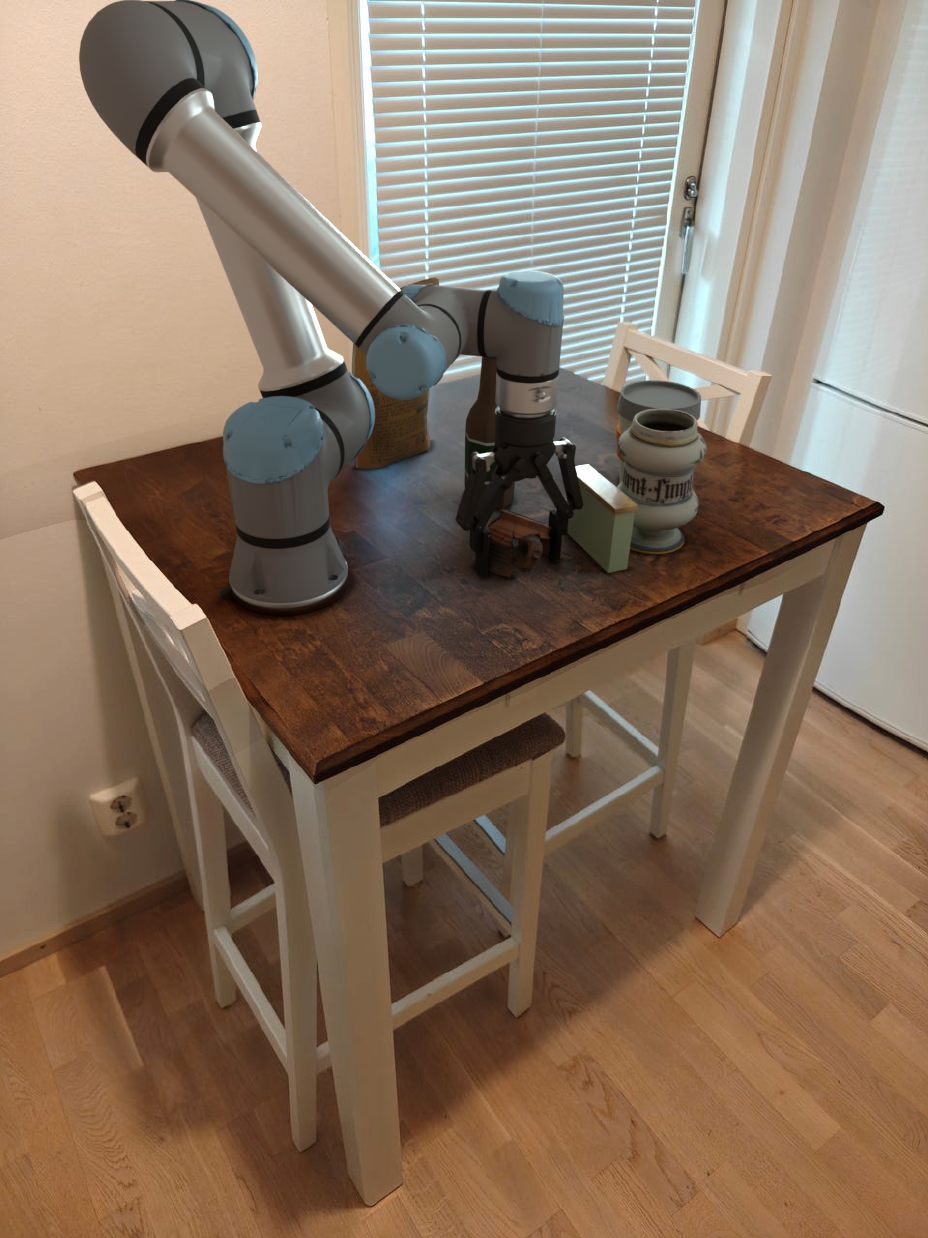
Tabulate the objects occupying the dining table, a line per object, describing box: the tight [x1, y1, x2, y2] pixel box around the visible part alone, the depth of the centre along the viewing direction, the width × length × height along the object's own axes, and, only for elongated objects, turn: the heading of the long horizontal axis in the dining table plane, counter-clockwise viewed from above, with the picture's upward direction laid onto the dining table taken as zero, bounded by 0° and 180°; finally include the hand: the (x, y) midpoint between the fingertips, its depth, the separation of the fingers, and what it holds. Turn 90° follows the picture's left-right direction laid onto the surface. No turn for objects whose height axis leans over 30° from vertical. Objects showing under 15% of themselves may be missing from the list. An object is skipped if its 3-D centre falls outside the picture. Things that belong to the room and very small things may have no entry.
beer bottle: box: [463, 357, 516, 511], centre depth 130 cm, size 8×8×24 cm
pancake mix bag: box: [351, 276, 440, 470], centre depth 142 cm, size 7×19×28 cm, turn 134°
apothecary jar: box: [616, 409, 708, 555], centre depth 123 cm, size 12×12×18 cm
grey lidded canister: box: [615, 379, 702, 484], centre depth 138 cm, size 13×13×15 cm
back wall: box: [567, 463, 638, 574], centre depth 122 cm, size 3×13×10 cm, turn 22°
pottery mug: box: [487, 509, 551, 578], centre depth 120 cm, size 12×10×8 cm
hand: (517, 563), depth 121 cm, fingers closed on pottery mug, 10 cm apart
